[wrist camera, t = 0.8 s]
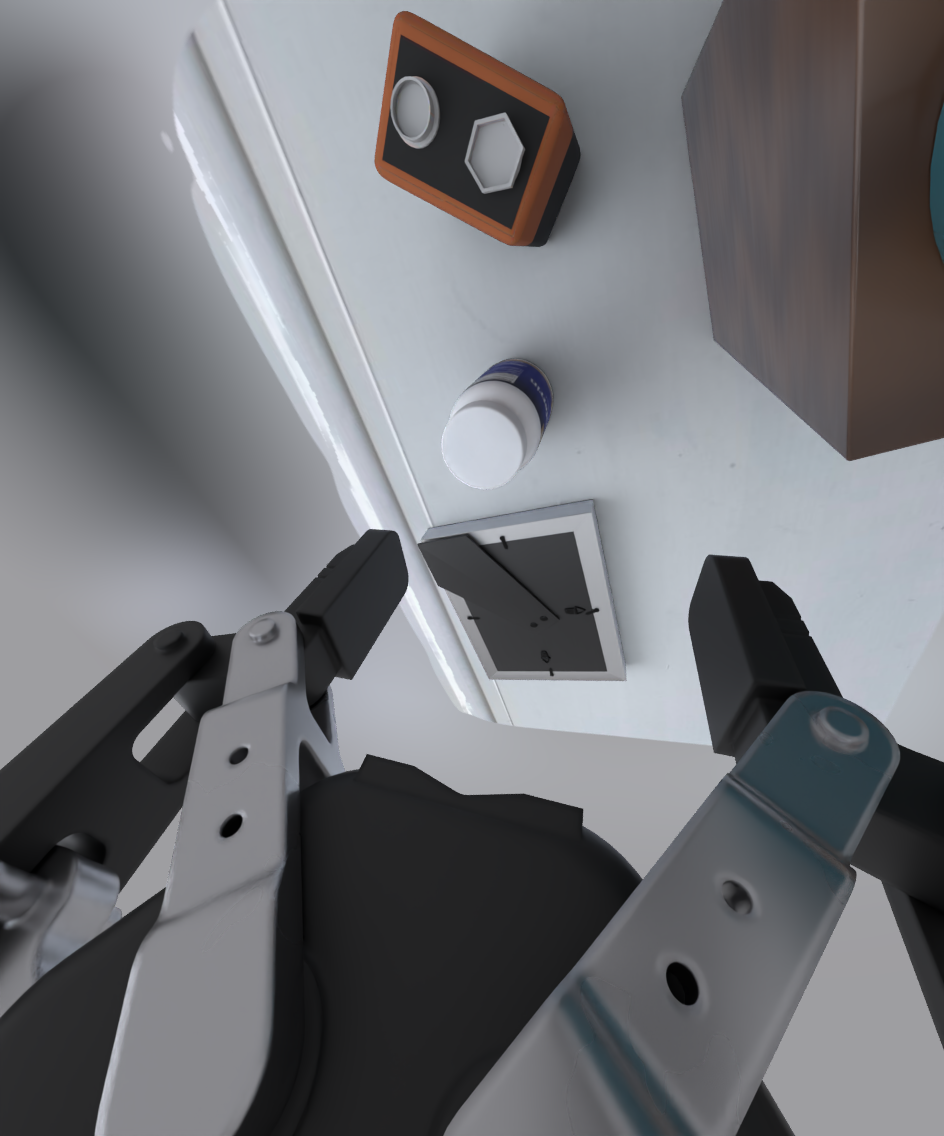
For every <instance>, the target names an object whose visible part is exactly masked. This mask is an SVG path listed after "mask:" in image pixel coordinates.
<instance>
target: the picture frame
mask: <svg viewBox="0 0 944 1136" xmlns="http://www.w3.org/2000/svg"><path fill="white" fill-rule="evenodd" d="M421 542H422V543H418V547H419V549H420V551H421V553H422V555H423V557H424V559H425V561H426V563H427V565H428V567H429V569H430V571H431V573H432V575H433V577H434V579H435V581H436V583H437V585H438V586H440V587H442V588H444V589H445V591H446V593H447V595H448V597H449V599H450V601H451V603H452V605H453V607H454V609H455V611H456V613H457V615H458V617H459V619H460V621H461V623H462V625H463V627H464V629H465V631H466V633H467V635H468V637H469V639H470V642H471V644H472V646H473V648H474V650H475V652H476V654H477V656H478V658H479V660H480V662H481V664H482V666H483V668H484V670H485V672H486V674H487V676H488V678H489V679H498V680H586V681H626V664H625V659H624V654H623V649H622V644H621V639H620V634H619V629H618V624H617V619H616V614H615V609H614V604H613V599H612V594H611V588H610V583H609V578H608V573H607V568H606V563H605V558H604V553H603V548H602V543H601V538H600V533H599V528H598V523H597V518H596V513H595V508H594V503H593V499H592V500H587V501H581V502H575V503H570V504H564V505H559V506H553V507H547V508H542V509H536V510H530V511H525V512H519V513H513V514H508V515H502V516H497V517H491V518H485V519H480V520H474V521H468V522H463V523H457V524H451V525H446V526H440V527H435V528H429V529H428V530H427V531H426V533H425V534H424V536H423V537H422V539H421Z"/></svg>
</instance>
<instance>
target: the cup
mask: <svg viewBox="0 0 944 1136" xmlns="http://www.w3.org/2000/svg"><path fill="white" fill-rule="evenodd" d="M930 211H931V218H932V225H933V231H934V238H935V241H936V244H937V247H938V249H939V252H940V255H941V258H942V260H943V263H944V103H943V106H942V110H941V113H940V117H939V120H938V125H937V131H936V137H935V143H934V149H933V155H932V161H931V172H930Z"/></svg>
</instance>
